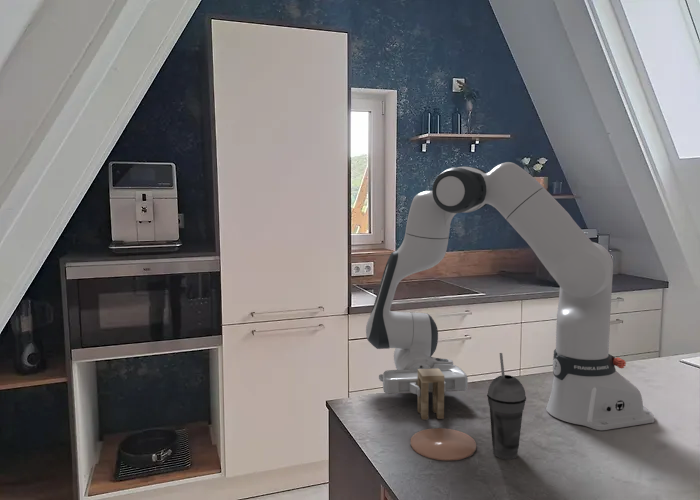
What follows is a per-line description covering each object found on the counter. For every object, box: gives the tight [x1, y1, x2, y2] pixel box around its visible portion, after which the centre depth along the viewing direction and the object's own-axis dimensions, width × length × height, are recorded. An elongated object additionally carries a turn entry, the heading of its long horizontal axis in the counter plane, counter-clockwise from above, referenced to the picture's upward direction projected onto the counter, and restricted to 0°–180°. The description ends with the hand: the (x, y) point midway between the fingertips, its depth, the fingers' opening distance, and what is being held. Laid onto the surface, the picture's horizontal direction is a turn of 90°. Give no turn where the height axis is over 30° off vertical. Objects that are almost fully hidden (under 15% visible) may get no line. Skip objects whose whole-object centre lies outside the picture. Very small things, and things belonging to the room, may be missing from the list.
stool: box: [416, 368, 445, 421], centre depth 124 cm, size 5×5×10 cm
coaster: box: [410, 427, 477, 462], centre depth 110 cm, size 13×13×1 cm
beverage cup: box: [486, 352, 527, 460], centre depth 105 cm, size 7×7×20 cm
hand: (431, 392), depth 123 cm, fingers closed on stool, 3 cm apart
